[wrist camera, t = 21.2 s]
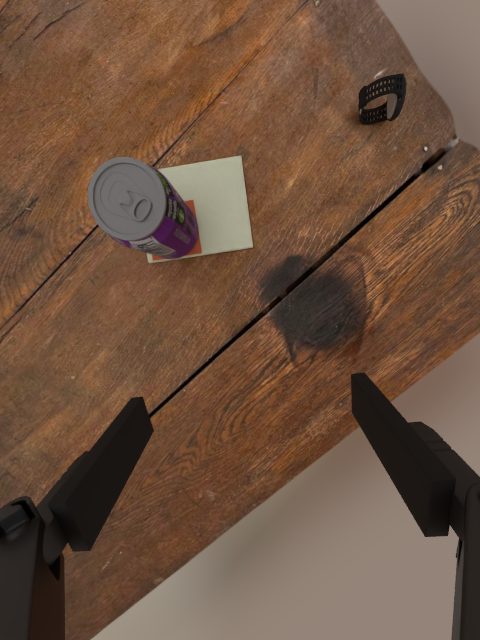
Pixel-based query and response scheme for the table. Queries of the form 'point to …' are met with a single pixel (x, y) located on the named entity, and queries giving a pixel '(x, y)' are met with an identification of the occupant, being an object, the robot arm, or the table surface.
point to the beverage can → (141, 208)
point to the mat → (213, 205)
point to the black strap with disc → (392, 104)
